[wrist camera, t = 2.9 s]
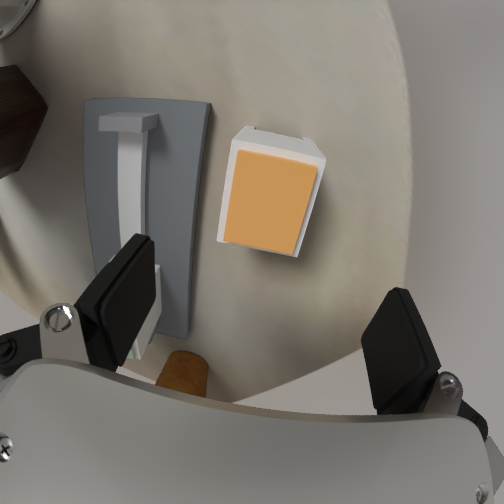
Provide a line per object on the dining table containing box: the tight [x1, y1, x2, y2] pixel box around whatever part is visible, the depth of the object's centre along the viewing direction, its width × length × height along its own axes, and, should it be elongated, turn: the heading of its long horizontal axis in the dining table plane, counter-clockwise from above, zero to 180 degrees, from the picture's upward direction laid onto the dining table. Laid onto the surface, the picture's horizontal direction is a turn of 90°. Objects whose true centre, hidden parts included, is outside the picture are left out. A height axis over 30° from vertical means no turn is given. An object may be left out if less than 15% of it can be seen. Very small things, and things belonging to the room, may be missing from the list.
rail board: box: [83, 98, 211, 360], centre depth 24 cm, size 28×12×10 cm, turn 170°
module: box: [217, 126, 326, 257], centre depth 20 cm, size 7×6×8 cm
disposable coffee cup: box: [155, 351, 208, 398], centre depth 35 cm, size 10×10×12 cm
